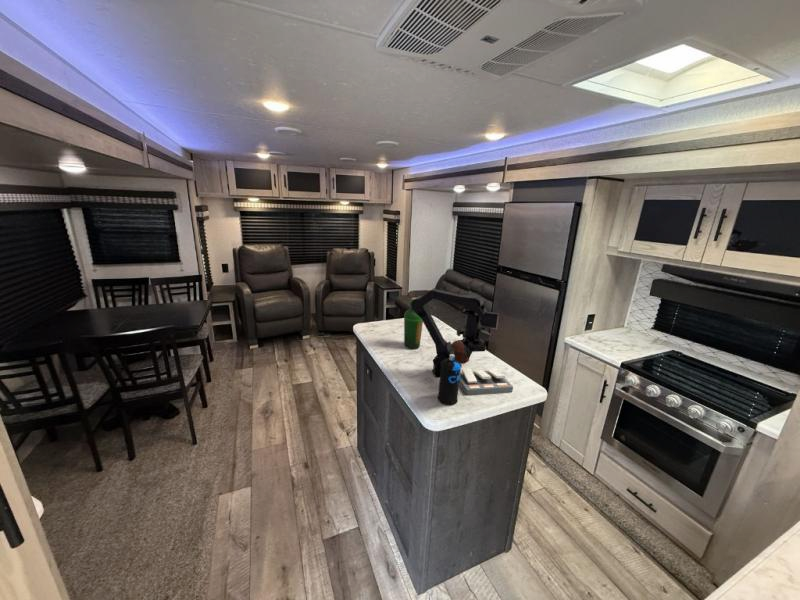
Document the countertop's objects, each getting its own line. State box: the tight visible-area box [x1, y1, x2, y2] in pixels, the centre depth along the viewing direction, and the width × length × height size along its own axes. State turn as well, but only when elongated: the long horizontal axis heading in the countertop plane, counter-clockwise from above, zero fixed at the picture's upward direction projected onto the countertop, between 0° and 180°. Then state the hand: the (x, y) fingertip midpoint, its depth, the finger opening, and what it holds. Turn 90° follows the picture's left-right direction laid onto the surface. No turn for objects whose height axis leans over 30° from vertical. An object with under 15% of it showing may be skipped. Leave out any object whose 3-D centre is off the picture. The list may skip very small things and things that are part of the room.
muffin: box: [451, 339, 471, 364], centre depth 159 cm, size 12×11×10 cm
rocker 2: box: [474, 370, 491, 379], centre depth 138 cm, size 4×8×2 cm, turn 10°
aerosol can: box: [437, 354, 463, 406], centre depth 123 cm, size 8×8×20 cm
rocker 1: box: [461, 368, 477, 383], centre depth 137 cm, size 4×8×2 cm, turn 10°
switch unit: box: [459, 369, 514, 396], centre depth 138 cm, size 21×14×3 cm, turn 100°
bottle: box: [403, 297, 424, 350], centre depth 168 cm, size 11×11×28 cm
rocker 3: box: [487, 369, 506, 379], centre depth 139 cm, size 4×8×2 cm, turn 10°
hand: (468, 357), depth 138 cm, fingers closed
